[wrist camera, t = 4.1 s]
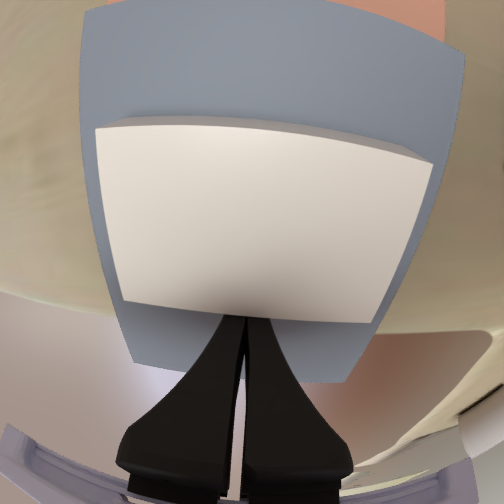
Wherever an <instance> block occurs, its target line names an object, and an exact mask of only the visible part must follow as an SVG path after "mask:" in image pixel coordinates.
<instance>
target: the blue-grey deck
mask: <svg viewBox="0 0 504 504" xmlns="http://www.w3.org/2000/svg"><path fill="white" fill-rule="evenodd" d="M464 66H465V54H463V53H461V52H460V51H458V50H456V49H454V48H453V47H451V46H449V45H447V44H445V43H443V42H441V41H439V40H437V39H435V38H433V37H431V36H429V35H427V34H425V33H423V32H420V31H418V30H416V29H414V28H411V27H409V26H407V25H404V24H402V23H399V22H397V21H394V20H391V19H389V18H386V17H383V16H380V15H377V14H374V13H371V12H368V11H365V10H361V9H358V8H354V7H351V6H347V5H343V4H339V3H335V2H331V1H326V0H125V1H121V2H116V3H112V4H108V5H105V6H101V7H97V8H94V9H91V10H87V11H85V16H84V23H83V31H82V41H81V54H80V73H79V113H80V133H81V147H82V157H83V167H84V175H85V183H86V190H87V196H88V202H89V208H90V214H91V219H92V224H93V229H94V234H95V239H96V243H97V248H98V252H99V256H100V260H101V264H102V268H103V272H104V275H105V279H106V283H107V286H108V290H109V293H110V296H111V300H112V303H113V306H114V309H115V312H116V315H117V318H118V321H119V324H120V327H121V330H122V333H123V335H124V338H125V340H126V343H127V346H128V349H129V351H130V354H131V356H132V359H133V361H134V363H139V364H143V365H148V366H153V367H158V368H164V369H169V370H175V371H182V372H188V371H189V369H190V368H191V367H192V365H193V364H194V363H195V362H196V360H197V359H198V357H199V356H200V355H201V353H202V352H203V350H204V349H205V347H206V346H207V344H208V342H209V341H210V339H211V338H212V336H213V334H214V332H215V331H216V329H217V327H218V325H219V324H220V322H221V320H222V317H223V315H224V314H219V313H210V312H201V311H193V310H185V309H178V308H170V307H163V306H156V305H150V304H143V303H137V302H131V301H125V300H124V299H123V296H122V292H121V288H120V284H119V281H118V277H117V272H116V268H115V264H114V260H113V255H112V251H111V246H110V241H109V236H108V231H107V225H106V220H105V214H104V208H103V201H102V194H101V187H100V179H99V170H98V160H97V148H96V134H95V129H96V128H99V127H101V126H104V125H107V124H110V123H112V122H115V121H118V120H121V119H124V118H127V117H142V116H219V117H236V118H250V119H261V120H270V121H279V122H287V123H295V124H302V125H308V126H314V127H320V128H326V129H332V130H337V131H342V132H347V133H352V134H356V135H361V136H365V137H370V138H374V139H378V140H382V141H386V142H390V143H393V144H397V145H401V146H404V147H405V148H407V149H409V150H411V151H412V152H414V153H416V154H417V155H419V156H421V157H422V158H424V159H426V160H427V161H429V162H431V163H432V164H433V167H432V171H431V174H430V178H429V181H428V185H427V188H426V191H425V194H424V197H423V201H422V204H421V207H420V210H419V213H418V215H417V218H416V221H415V224H414V227H413V229H412V232H411V235H410V237H409V240H408V242H407V245H406V247H405V250H404V252H403V255H402V257H401V260H400V262H399V264H398V267H397V269H396V271H395V274H394V276H393V278H392V280H391V282H390V285H389V287H388V289H387V291H386V293H385V295H384V297H383V300H382V302H381V304H380V306H379V308H378V310H377V312H376V314H375V316H374V317H373V319H372V321H371V323H348V322H322V321H303V320H287V319H273V318H270V321H271V324H272V327H273V330H274V333H275V335H276V338H277V340H278V343H279V345H280V348H281V350H282V352H283V354H284V356H285V359H286V361H287V363H288V365H289V367H290V369H291V370H292V372H293V374H294V376H295V378H296V379H297V381H298V382H305V383H307V382H308V383H309V382H310V383H312V382H313V383H324V382H325V383H329V382H330V383H332V382H344V381H345V380H346V378H347V377H348V375H349V374H350V372H351V371H352V369H353V368H354V366H355V364H356V363H357V361H358V360H359V358H360V357H361V355H362V353H363V352H364V350H365V348H366V347H367V345H368V343H369V342H370V340H371V339H372V337H373V335H374V333H375V332H376V330H377V328H378V326H379V325H380V323H381V321H382V319H383V317H384V315H385V314H386V312H387V310H388V308H389V306H390V304H391V302H392V300H393V298H394V296H395V294H396V292H397V290H398V288H399V286H400V284H401V282H402V280H403V278H404V276H405V274H406V271H407V269H408V267H409V265H410V263H411V260H412V258H413V256H414V253H415V251H416V249H417V246H418V244H419V242H420V239H421V237H422V234H423V232H424V229H425V226H426V224H427V221H428V218H429V216H430V213H431V210H432V207H433V204H434V201H435V198H436V195H437V192H438V189H439V186H440V183H441V180H442V176H443V173H444V169H445V166H446V162H447V159H448V155H449V151H450V147H451V143H452V139H453V134H454V130H455V125H456V120H457V115H458V109H459V104H460V98H461V91H462V84H463V76H464ZM240 379H245V354H244V360H243V366H242V371H241V377H240Z"/></svg>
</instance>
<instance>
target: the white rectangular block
mask: <svg viewBox="0 0 504 504" xmlns="http://www.w3.org/2000/svg"><path fill="white" fill-rule="evenodd" d="M95 134H96V148H97V160H98V170H99V179H100V187H101V194H102V201H103V208H104V214H105V220H106V225H107V231H108V236H109V241H110V246H111V251H112V255H113V260H114V264H115V268H116V272H117V277H118V281H119V284H120V288H121V292H122V296H123V299H124V300H125V301H131V302H137V303H143V304H150V305H156V306H163V307H170V308H178V309H185V310H193V311H201V312H210V313H219V314H228V315H238V316H249V317H260V318H273V319H287V320H303V321H322V322H348V323H371V321H372V319H373V317H374V316H375V314H376V312H377V310H378V308H379V306H380V304H381V302H382V300H383V297H384V295H385V293H386V291H387V289H388V287H389V285H390V282H391V280H392V278H393V276H394V274H395V271H396V269H397V267H398V264H399V262H400V260H401V257H402V255H403V252H404V250H405V247H406V245H407V242H408V240H409V237H410V235H411V232H412V229H413V227H414V224H415V221H416V218H417V215H418V213H419V210H420V207H421V204H422V201H423V197H424V194H425V191H426V188H427V185H428V181H429V178H430V174H431V171H432V167H433V164H432V163H431V162H429V161H427V160H426V159H424V158H422V157H421V156H419V155H417V154H416V153H414V152H412V151H411V150H409V149H407V148H405V147H404V146H401V145H397V144H393V143H390V142H386V141H382V140H378V139H374V138H370V137H365V136H361V135H356V134H352V133H347V132H342V131H337V130H332V129H326V128H320V127H314V126H308V125H302V124H295V123H287V122H279V121H270V120H261V119H250V118H236V117H219V116H142V117H127V118H124V119H121V120H118V121H115V122H112V123H110V124H107V125H104V126H101V127H99V128H96V129H95Z"/></svg>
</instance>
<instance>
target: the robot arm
mask: <svg viewBox="0 0 504 504" xmlns="http://www.w3.org/2000/svg"><path fill="white" fill-rule="evenodd" d="M244 354H245V384H246V385H245V386H246V415H245V430H244V445H243V459H242V473H241V487H240V501H233V500H221V499H220V497H227V492H228V490H229V484H230V470H231V456H232V455H231V454H232V442H233V429H234V417H235V406H236V399H237V393H238V387H239V382H240V377H241V371H242V366H243V360H244ZM116 464H117V465H118V466H119V467H121V468H122V469H124V470H126V471H127V472H129V473H130V478H129V481H126V480H123V479H120V478H117V477H114V476H111V475H108V474H105V473H103V472H100V471H97V470H95V469H92V468H89V467H87V466H84V465H82V464H80V463H77V462H75V461H73V460H71V459H68V458H66V457H64V456H62V455H60V454H58V453H56V452H54V451H52V450H50V449H48V448H46V447H44V446H42V445H40V444H39V443H37V442H36V441H35V440H33V439H32V438H31V437H29V436H28V435H26V434H24V433H23V432H21V431H19V430H18V429H16V428H14V427H13V426H12V425H10V424H6V427H5V429H4V432H3V435H2V437H1V441H0V474H2V475H3V476H4V477H6V478H7V479H8V480H9V481H11V482H12V483H13V484H15V485H16V486H17V487H19V488H20V489H21V490H22V491H24V492H25V493H26V494H28V495H29V496H30V497H32V498H33V499H34V500H36V501H37V502H38V503H40V504H135V503H131V502H129V501H128V499H127V497H126V496H125V495H127V496H130V497H133V498H136V499H140V500H144V501H147V502H151V503H155V504H478V502H479V499H478V492H477V486H476V480H475V475H474V470H473V465H472V461H471V457H468V458H466V459H464V460H461V461H459V462H457V463H454V464H452V465H450V466H448V467H446V468H444V469H441V470H440V471H438V472H436V473H434V474H431V475H428V476H425V477H422V478H419V479H416V480H413V481H410V482H406V483H403V484H399V485H396V486H392V487H388V488H384V489H380V490H375V491H371V492H366V493H361V494H355V495H349V496H343V497H339V489H341V479H343V478H345V477H347V476H349V475H350V474H352V472H353V461H352V457H351V454H350V451H349V448H348V446H347V444H346V443H345V442H344V441H343V440H342V439H341V437H340V436H339V435H338V434H337V433H336V432H335V431H334V430H333V429H332V428H331V427H330V426H329V425H328V423H327V422H326V421H325V419H324V418H323V417H322V416H321V415H320V413H319V412H318V411H317V409H316V408H315V406H314V405H313V404H312V402H311V401H310V399H309V398H308V397H307V395H306V394H305V393H304V391H303V389H302V388H301V386H300V384H299V383H298V381H297V379H296V378H295V376H294V374H293V372H292V370H291V369H290V367H289V365H288V363H287V361H286V359H285V356H284V354H283V352H282V350H281V348H280V345H279V343H278V340H277V338H276V335H275V333H274V330H273V327H272V324H271V321H270V318H260V317H249V316H238V315H228V314H224V315H223V317H222V320H221V322H220V324H219V325H218V327H217V329H216V331H215V332H214V334H213V336H212V338H211V339H210V341H209V342H208V344H207V346H206V347H205V349H204V350H203V352H202V353H201V355H200V356H199V357H198V359H197V360H196V362H195V363H194V364H193V365H192V367H191V368H190V369H189V371H188V372H187V373H186V374H185V375H184V377H183V378H182V379H181V380H180V381H179V382H178V383H177V385H176V386H175V387H174V388H173V389H172V390H171V391H170V392H169V393H168V394H167V395H166V396H165V397H164V398H163V399H162V400H161V401H160V402H158V403H157V404H156V405H155V406H154V407H153V408H152V409H151V410H150V411H148V412H147V413H146V414H145V415H144V416H142V417H141V418H140V419H138V420H137V421H136V422H135V423H133V424H132V425H131V426H129V427H128V429H127V430H126V432H125V434H124V436H123V438H122V441H121V443H120V445H119V449H118V454H117V457H116Z"/></svg>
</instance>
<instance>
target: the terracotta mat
mask: <svg viewBox="0 0 504 504" xmlns="http://www.w3.org/2000/svg"><path fill="white" fill-rule="evenodd" d="M121 1H125V0H107V4H106V5H108V4H112V3H116V2H121ZM326 1H331V2H335V3H339V4H343V5H347V6H351V7H354V8H358V9H361V10H365V11H368V12H371V13H374V14H377V15H380V16H383V17H386V18H389V19H391V20H394V21H397V22H399V23H402V24H404V25H407V26H409V27H411V28H414V29H416V30H418V31H420V32H423V33H425V34H427V35H429V36H431V37H433V38H435V39H437V40H439V41H441V42H443V43H444V36H445V0H326Z"/></svg>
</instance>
